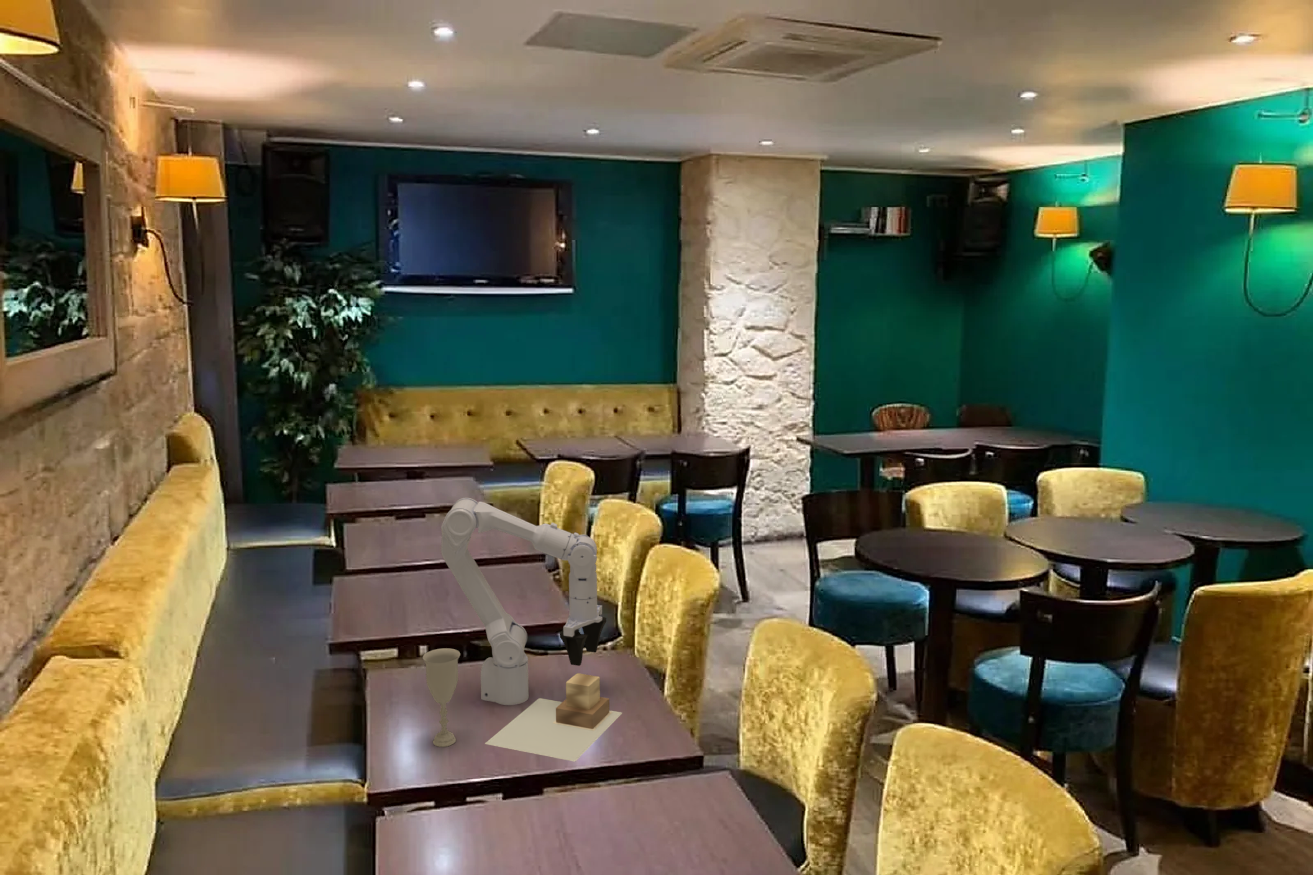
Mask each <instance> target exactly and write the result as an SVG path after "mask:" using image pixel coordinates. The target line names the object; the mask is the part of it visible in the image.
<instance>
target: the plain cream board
mask: <svg viewBox="0 0 1313 875" xmlns="http://www.w3.org/2000/svg"><path fill="white" fill-rule="evenodd" d="M562 702H563V701H557V700H552V699H546V698H541V697H539V698H538V699H536V700H535V701H534V702H532V703H531V704H530V705H529V706H527V708H526V709H524V710H523V711H522V712H521V713H519V714H518V715H517V716H516V717H515V718H514V719H512V720H511V721H510V722H509V723H507V724H506V725H505V726H504V727H502V728H501V730H499V731H498V732H497V733H496V734H494V735H493V736H492V737H491V738H489V739H488V741H486V742H485V743H484V745H488V746H493V747H494V746H495V747H499V748H504V749H509V750H515V751H519V752H525V753H528V754H529V753H530V754H533V755H534V754H535V755H540V756H545V757H550V758H554V759H560V760H564V761H571V762H573V763H574V762H576V761H578V759H580V758H581V757H582V755H583V754H584V753H585V752H586V751H587V750H588V749H589V748H590V747H591V746H592V745H593V744H594V743H595V742H596V741H597V739H599V738H600V737H601V736H602V735H603V734H604V733H605V732H606V730H608V728H610V726H611V725H613V723H614V722H615V721H616V720H617V719H618V718H619V717H620V716H621V715H622V714H623V712H621V711H615V710H610V709H609V713H608V714H607V715H606V716H605V717H604V718H603V719H602V720H601V721H600V722H599V723H598V724H597V725H596V726H595V727H594V728H593V729H589V728H584V727H579V726H573V725H568V724H562V723H557V722H556V707H558V706H559V705H560V704H561V703H562Z"/></svg>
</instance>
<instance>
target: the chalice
mask: <svg viewBox="0 0 1313 875" xmlns="http://www.w3.org/2000/svg"><path fill="white" fill-rule="evenodd" d="M460 656H461V653H460V651H459V650H457V649H454V648H447V647H446V648H437V649H432V650H430V651H428V652H426V653H424V655H422V660H423V662H424V663H425V673H426V674H425V675H426V677H425V679H426V685H427V688H428V689H429V693H430V694H431V696H432V698H433V699H434V701H435V702H436V703H437V704H439V705H440V711H439V715H440V716H441V717H440V721H439V722H438V723H439V724H440V726H441V730H440V731H438V733H436V734H435V736H434V739H433V741H432V743H433V745H434V746H435V747H439V748H446V747H450V746H452V745H454V744H455V743H456V742H457V739H456V737H455V735H454V733H452V731H449V730H448V728H447V726H448V723H449V722H450V721H449V720H448V718H447V714H448V713H449V712H448V710H447V703H449V702H451V700H452V698H453V695H454V693H455V691H456V688H457V685H458V681H459V663H458V662H459V658H460Z"/></svg>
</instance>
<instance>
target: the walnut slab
mask: <svg viewBox="0 0 1313 875" xmlns="http://www.w3.org/2000/svg"><path fill="white" fill-rule="evenodd" d="M561 702H562V703H561V704H560V705H559V706H558V707H556V722H557V723H562V724H568V725H573V726H579V727H584V728H589V729H593V728H594V727H595V726H596V725H597V724H598V723H599V722H600V721H601V720H602V719H603V718H604V717H605V716H606V715H607V714H608V713H609V710H610V698H609V697H604V696H600V701H599V702H598V703H597V704H595V705H594V706H593V707H592V708H591V709H590V710H584V709H579V708H573V707H568V706H566V699H564V700H563V701H561Z"/></svg>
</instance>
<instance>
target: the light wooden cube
mask: <svg viewBox="0 0 1313 875" xmlns="http://www.w3.org/2000/svg"><path fill="white" fill-rule="evenodd" d="M600 680H601V678H600V676H596V675H590V674H585V673H578V672H577V673H576V674H574V675H573V676H572V677H571V678H570V679H568V680H567V681H566V682H565V697H566V698H565V700H566V706H568V707H573V708H579V709H584V710H590V709H591V708H592V707H593V706H594V705H595V704H597V703H598V702H599V701H600V697H601V696H600V695H601V691H600V690H601V688H600V687H601V686H600V685H601V682H600Z"/></svg>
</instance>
